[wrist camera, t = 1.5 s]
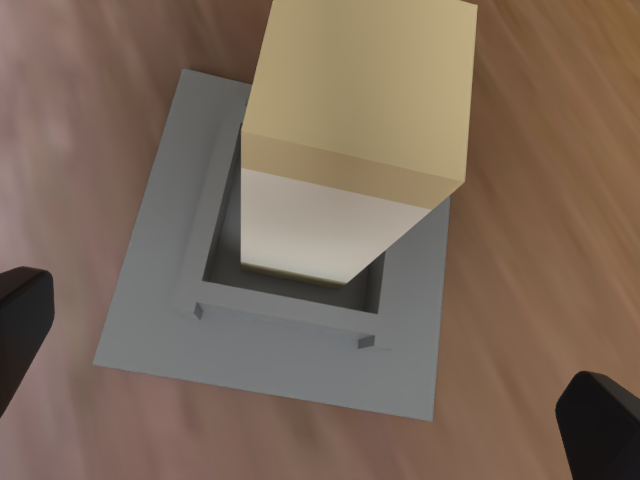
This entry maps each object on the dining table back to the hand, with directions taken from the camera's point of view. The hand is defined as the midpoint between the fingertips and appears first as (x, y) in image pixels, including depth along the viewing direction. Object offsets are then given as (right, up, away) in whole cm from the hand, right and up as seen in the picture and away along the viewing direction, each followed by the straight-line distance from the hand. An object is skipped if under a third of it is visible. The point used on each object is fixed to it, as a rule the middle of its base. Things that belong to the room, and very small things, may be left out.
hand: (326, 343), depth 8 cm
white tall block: (-1, +2, +13) cm, 13 cm away
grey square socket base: (-1, +2, +14) cm, 14 cm away
